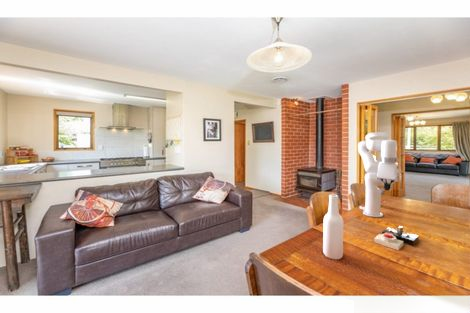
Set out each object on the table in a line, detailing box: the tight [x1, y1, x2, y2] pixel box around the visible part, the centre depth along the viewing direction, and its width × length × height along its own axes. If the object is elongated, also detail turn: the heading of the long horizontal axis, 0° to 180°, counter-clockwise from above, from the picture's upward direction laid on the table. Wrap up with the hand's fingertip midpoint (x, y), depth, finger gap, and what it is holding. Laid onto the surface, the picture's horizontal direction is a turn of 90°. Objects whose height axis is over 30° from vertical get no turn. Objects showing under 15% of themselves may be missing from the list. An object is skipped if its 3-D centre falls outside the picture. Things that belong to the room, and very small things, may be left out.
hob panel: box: [381, 226, 419, 247], centre depth 115 cm, size 14×10×3 cm
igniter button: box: [384, 233, 393, 238], centre depth 110 cm, size 4×4×2 cm
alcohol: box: [322, 193, 345, 260], centre depth 99 cm, size 9×9×30 cm
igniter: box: [373, 233, 404, 251], centre depth 110 cm, size 11×8×4 cm
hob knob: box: [396, 225, 404, 235], centre depth 115 cm, size 5×1×4 cm, turn 127°
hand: (387, 190), depth 125 cm, fingers closed
